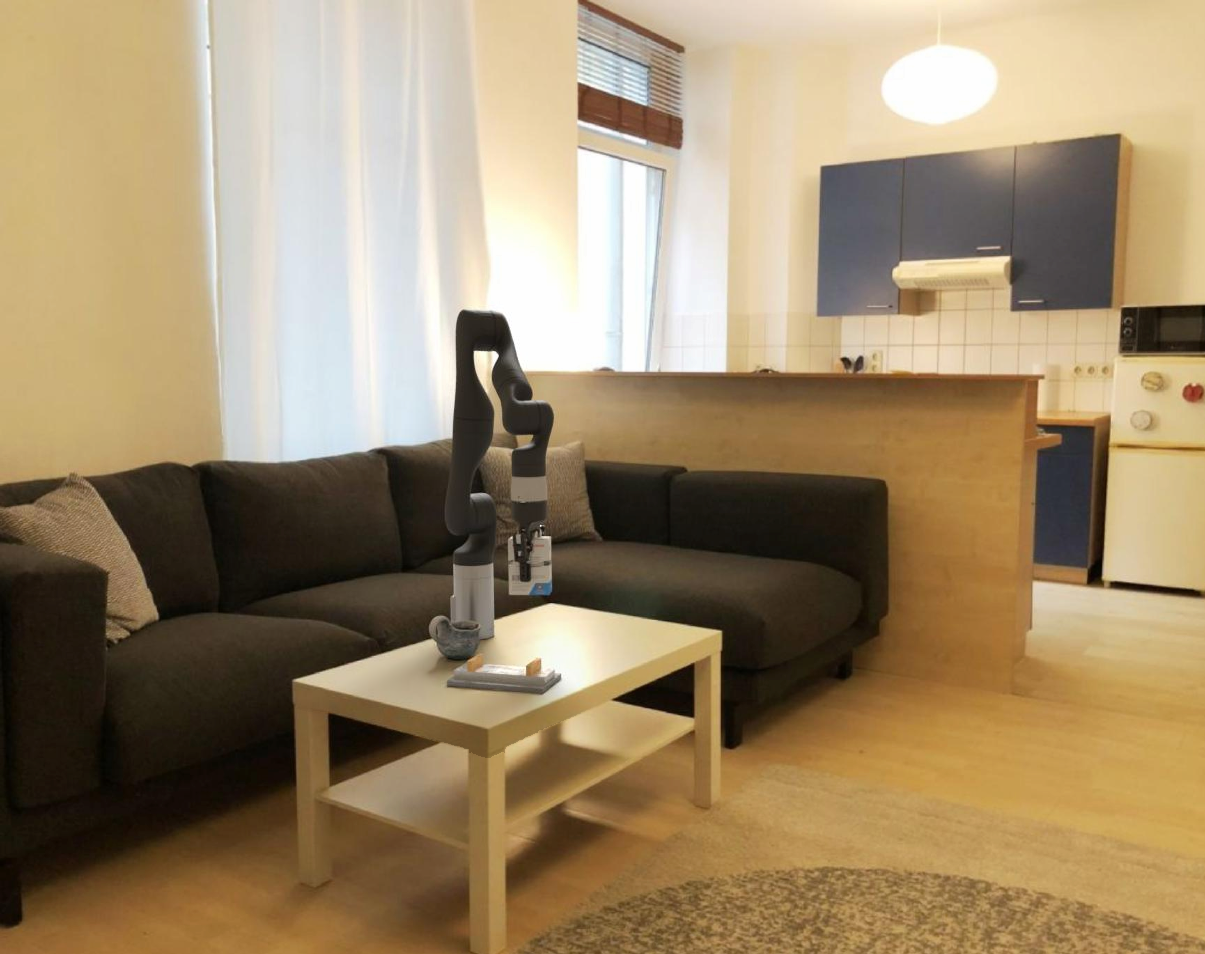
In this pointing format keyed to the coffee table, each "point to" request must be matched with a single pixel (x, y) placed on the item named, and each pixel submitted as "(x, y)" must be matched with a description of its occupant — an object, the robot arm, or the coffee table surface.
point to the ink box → (532, 569)
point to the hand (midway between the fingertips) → (530, 578)
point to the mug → (455, 637)
